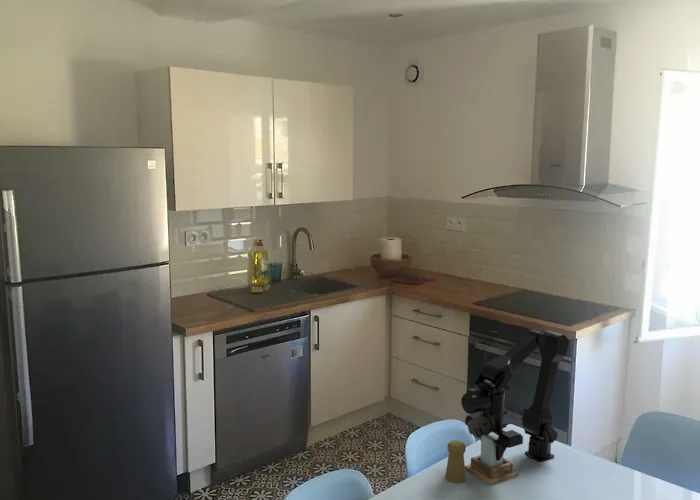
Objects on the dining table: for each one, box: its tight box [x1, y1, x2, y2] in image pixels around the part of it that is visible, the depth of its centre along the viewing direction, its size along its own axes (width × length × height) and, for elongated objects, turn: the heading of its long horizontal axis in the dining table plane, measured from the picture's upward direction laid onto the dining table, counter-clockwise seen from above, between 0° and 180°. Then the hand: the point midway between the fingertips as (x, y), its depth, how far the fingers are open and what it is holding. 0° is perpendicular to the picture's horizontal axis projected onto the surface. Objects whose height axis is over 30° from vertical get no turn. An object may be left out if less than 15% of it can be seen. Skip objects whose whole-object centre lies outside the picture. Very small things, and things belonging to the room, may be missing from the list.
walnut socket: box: [465, 454, 519, 486], centre depth 180 cm, size 11×11×4 cm
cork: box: [444, 439, 467, 484], centre depth 176 cm, size 6×6×11 cm
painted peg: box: [480, 432, 504, 468], centre depth 179 cm, size 5×5×9 cm
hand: (492, 456), depth 179 cm, fingers open, 5 cm apart
